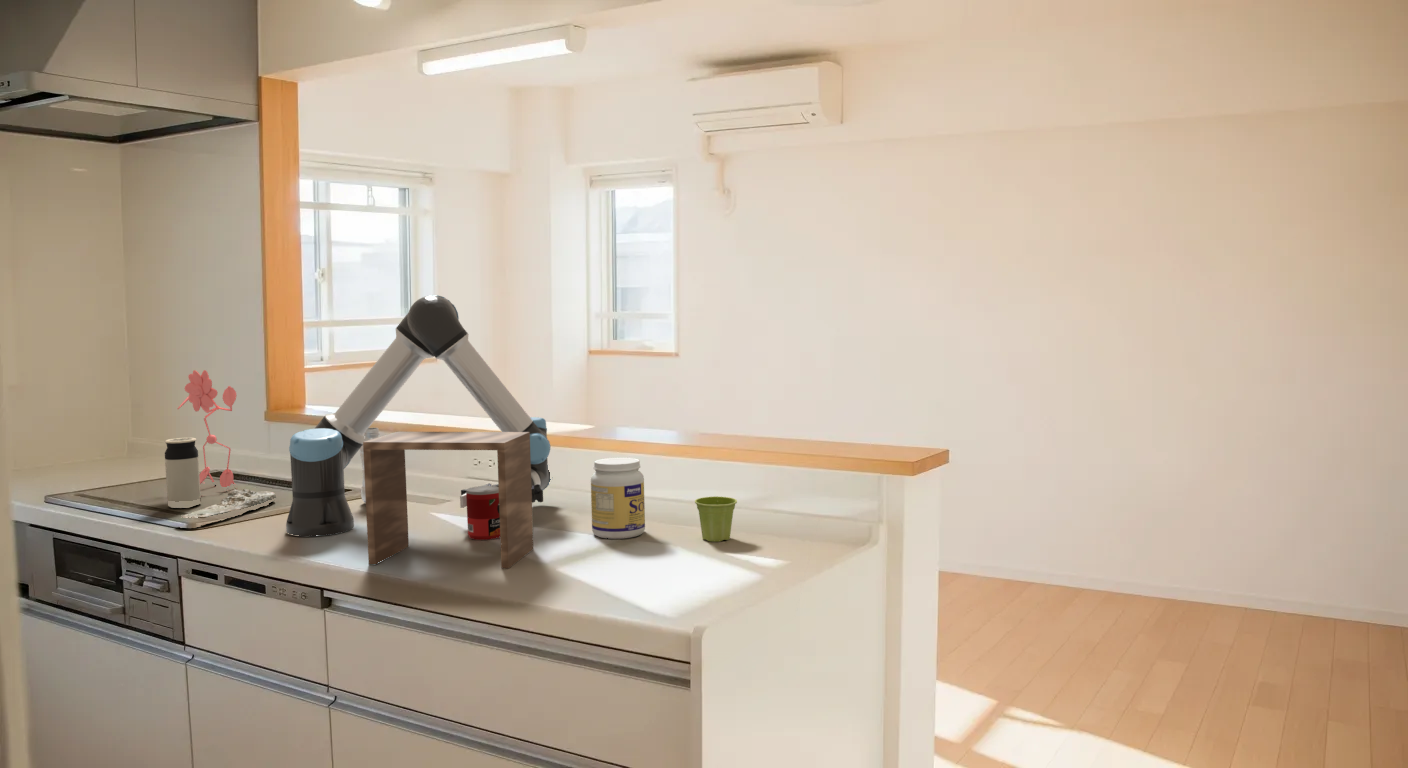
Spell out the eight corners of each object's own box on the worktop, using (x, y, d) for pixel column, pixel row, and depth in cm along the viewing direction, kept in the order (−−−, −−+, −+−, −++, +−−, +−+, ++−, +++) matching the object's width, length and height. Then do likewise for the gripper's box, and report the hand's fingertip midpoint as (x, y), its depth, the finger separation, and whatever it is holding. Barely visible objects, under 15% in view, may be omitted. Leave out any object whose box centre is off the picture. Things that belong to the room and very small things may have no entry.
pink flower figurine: (199, 483, 323) (190, 366, 319) (258, 490, 310) (249, 368, 306) (152, 493, 309) (142, 371, 305) (211, 500, 297) (201, 374, 293)
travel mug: (207, 505, 289) (203, 438, 287) (179, 510, 282) (175, 442, 281) (189, 502, 293) (185, 436, 292) (161, 507, 287) (157, 440, 285)
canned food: (495, 540, 242) (493, 492, 241) (462, 539, 243) (460, 491, 242) (508, 533, 249) (506, 486, 248) (475, 532, 251) (474, 485, 250)
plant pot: (739, 534, 244) (738, 496, 243) (736, 544, 235) (735, 504, 234) (697, 534, 245) (697, 496, 244) (693, 543, 236) (692, 504, 235)
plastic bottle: (359, 502, 289) (356, 428, 287) (385, 499, 292) (382, 426, 290) (363, 506, 283) (359, 430, 282) (389, 503, 286) (386, 429, 284)
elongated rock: (165, 535, 261) (201, 538, 259) (163, 514, 260) (200, 517, 258) (253, 499, 295) (286, 501, 293) (252, 480, 294) (285, 482, 292)
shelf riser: (368, 565, 222) (363, 442, 220) (402, 546, 238) (397, 431, 236) (508, 568, 217) (504, 442, 215) (533, 549, 233) (529, 432, 231)
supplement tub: (633, 541, 239) (631, 466, 237) (582, 538, 243) (580, 464, 241) (653, 529, 250) (651, 457, 249) (605, 526, 254) (603, 455, 253)
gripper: (569, 501, 267) (542, 519, 246) (473, 499, 271) (439, 517, 250) (568, 471, 266) (541, 486, 245) (472, 470, 270) (437, 485, 249)
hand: (489, 502), depth 248 cm, fingers open, 13 cm apart
